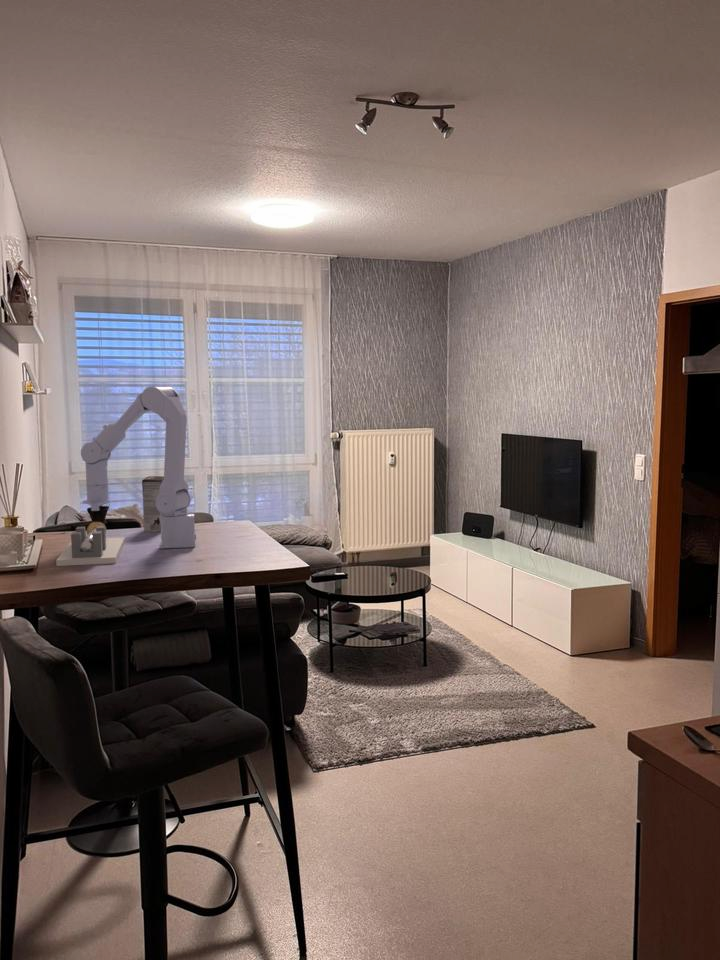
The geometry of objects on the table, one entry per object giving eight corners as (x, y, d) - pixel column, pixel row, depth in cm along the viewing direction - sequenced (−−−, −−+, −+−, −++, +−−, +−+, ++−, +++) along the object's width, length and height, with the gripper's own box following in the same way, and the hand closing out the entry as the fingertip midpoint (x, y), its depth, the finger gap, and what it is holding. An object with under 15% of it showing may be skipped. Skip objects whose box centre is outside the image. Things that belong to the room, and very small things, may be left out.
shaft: (106, 538, 215) (105, 521, 215) (96, 556, 193) (95, 536, 192) (87, 539, 214) (86, 521, 214) (75, 557, 192) (74, 537, 191)
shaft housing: (124, 542, 220) (123, 516, 219) (115, 563, 194) (114, 533, 193) (72, 544, 217) (71, 518, 216) (56, 566, 191) (55, 536, 190)
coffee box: (150, 526, 246) (148, 476, 244) (170, 526, 246) (168, 475, 244) (143, 531, 237) (141, 479, 235) (164, 531, 237) (162, 479, 235)
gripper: (85, 482, 225) (87, 528, 226) (78, 488, 210) (80, 537, 212) (110, 481, 226) (112, 527, 228) (105, 487, 212) (107, 536, 214)
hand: (99, 532), depth 220 cm, fingers closed
